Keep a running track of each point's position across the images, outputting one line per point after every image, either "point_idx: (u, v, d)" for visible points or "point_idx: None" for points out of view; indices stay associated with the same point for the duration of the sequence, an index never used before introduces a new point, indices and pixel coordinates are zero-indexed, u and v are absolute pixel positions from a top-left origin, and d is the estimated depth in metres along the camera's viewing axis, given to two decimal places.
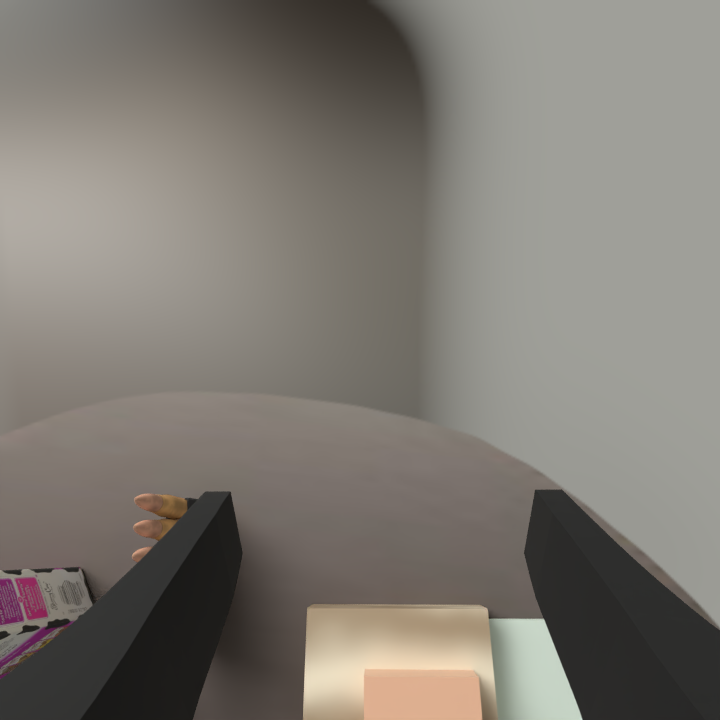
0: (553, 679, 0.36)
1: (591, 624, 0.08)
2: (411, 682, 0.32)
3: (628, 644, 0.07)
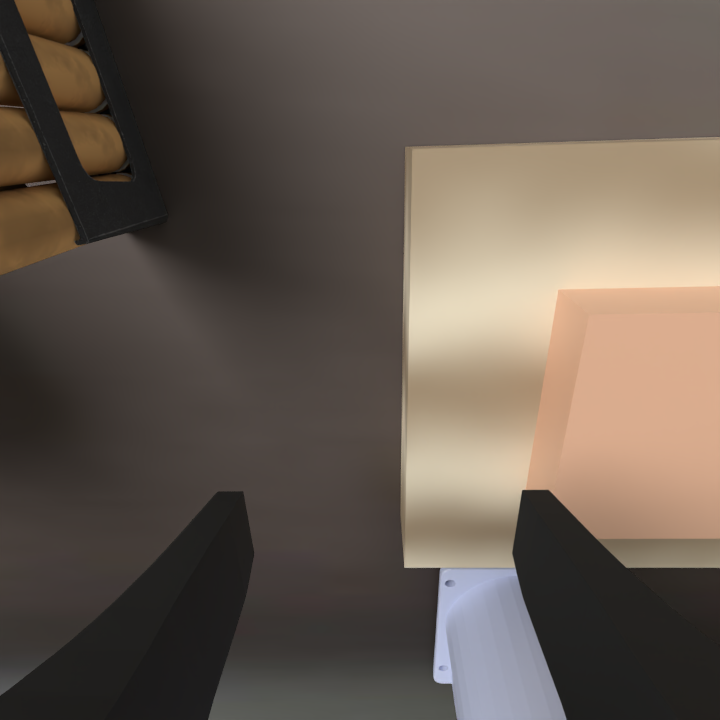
0: None
1: (574, 623, 0.08)
2: (715, 324, 0.12)
3: (608, 644, 0.07)
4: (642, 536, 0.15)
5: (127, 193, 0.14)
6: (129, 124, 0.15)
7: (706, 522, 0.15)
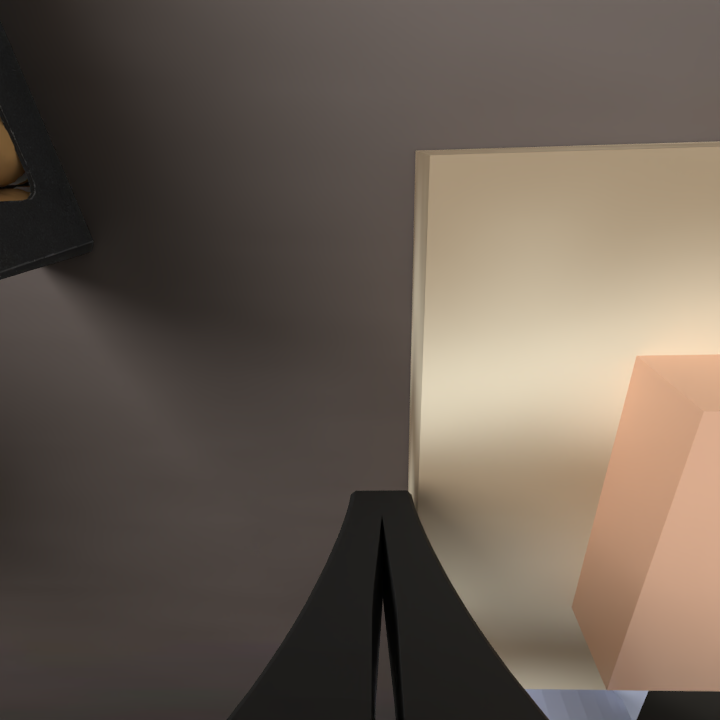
0: None
1: (393, 623, 0.08)
2: None
3: (397, 643, 0.07)
4: None
5: (17, 217, 0.10)
6: (27, 118, 0.10)
7: None
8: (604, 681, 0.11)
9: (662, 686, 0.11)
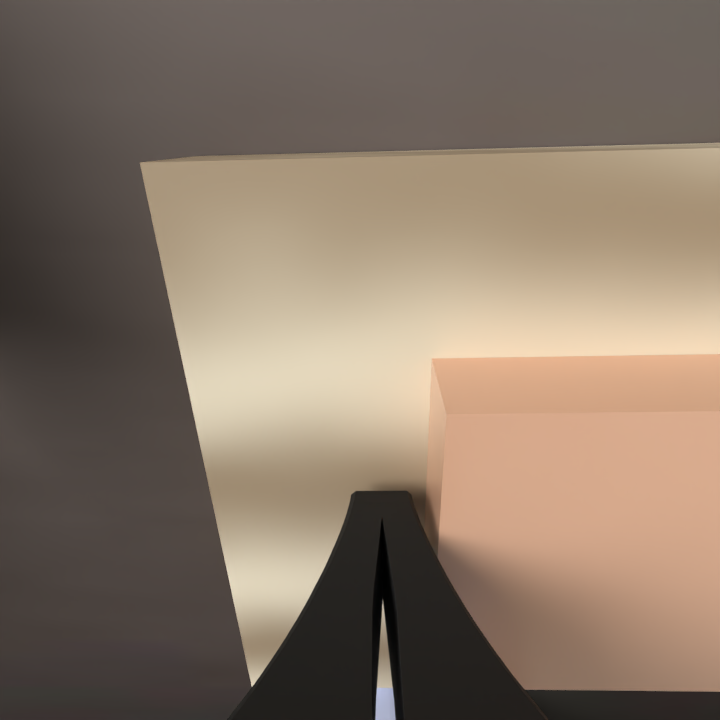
0: None
1: (392, 624, 0.08)
2: (638, 428, 0.08)
3: (397, 643, 0.07)
4: (561, 687, 0.11)
5: None
6: None
7: (647, 672, 0.11)
8: None
9: None
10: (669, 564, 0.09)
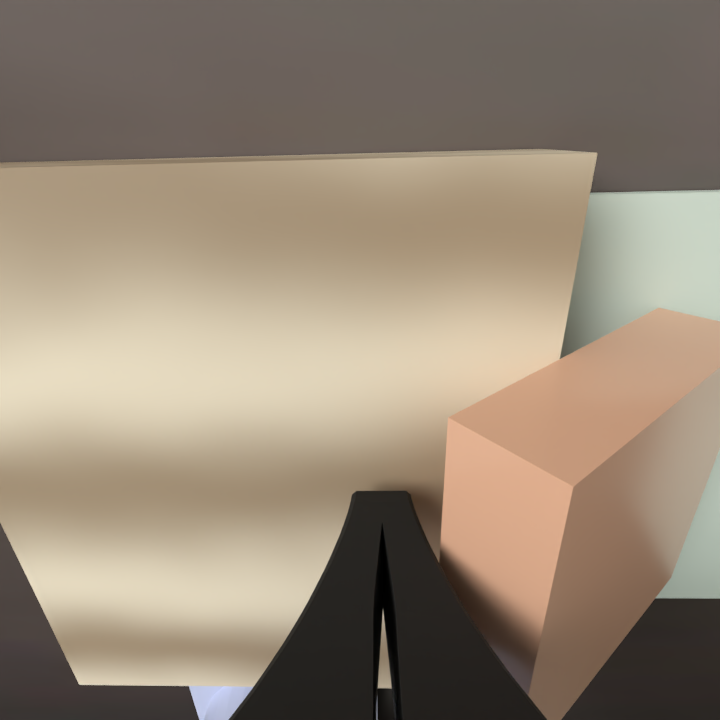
0: None
1: (391, 623, 0.08)
2: (671, 417, 0.08)
3: (396, 643, 0.07)
4: (589, 682, 0.11)
5: None
6: None
7: (631, 618, 0.12)
8: None
9: None
10: (659, 522, 0.10)
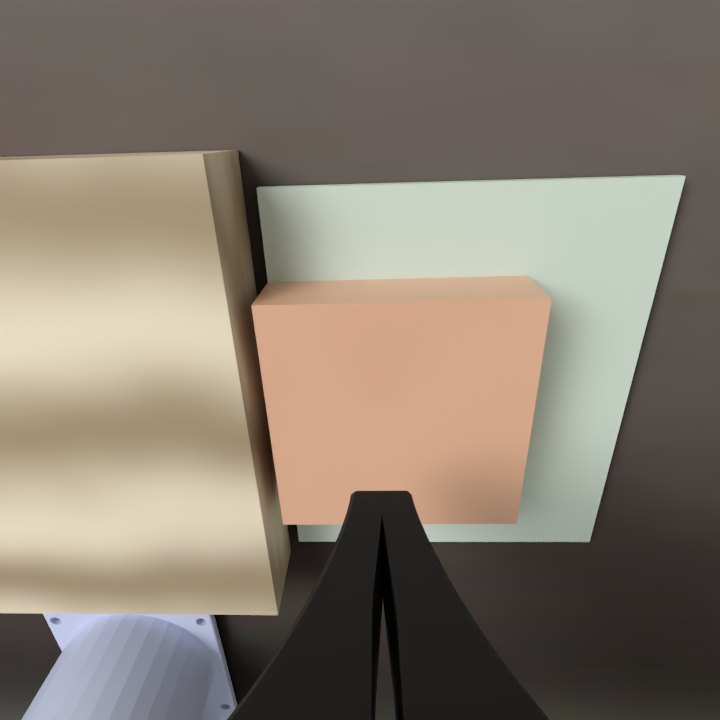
0: None
1: (392, 623, 0.08)
2: (374, 314, 0.12)
3: (397, 643, 0.07)
4: None
5: None
6: None
7: (431, 507, 0.15)
8: None
9: (319, 520, 0.16)
10: (421, 416, 0.14)
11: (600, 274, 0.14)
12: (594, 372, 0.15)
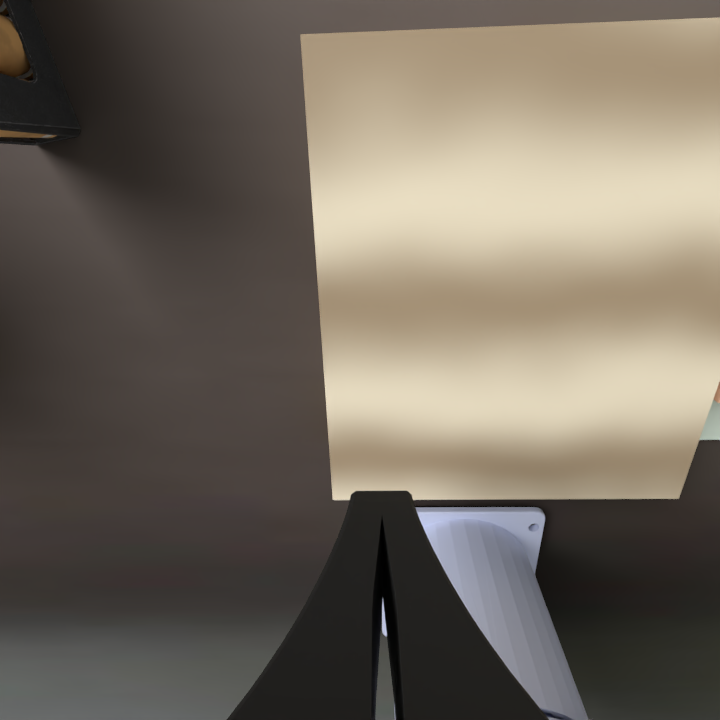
0: None
1: (393, 623, 0.08)
2: None
3: (397, 643, 0.07)
4: None
5: (24, 91, 0.14)
6: (31, 27, 0.14)
7: None
8: (716, 399, 0.17)
9: None
10: None
11: None
12: None
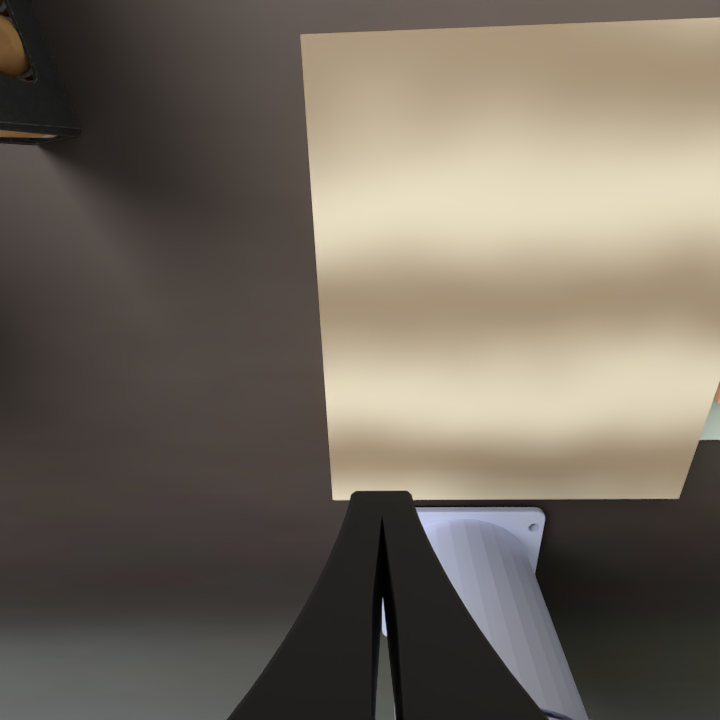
0: None
1: (393, 623, 0.08)
2: None
3: (397, 643, 0.07)
4: None
5: (24, 91, 0.14)
6: (31, 27, 0.14)
7: None
8: (716, 399, 0.17)
9: None
10: None
11: None
12: None
